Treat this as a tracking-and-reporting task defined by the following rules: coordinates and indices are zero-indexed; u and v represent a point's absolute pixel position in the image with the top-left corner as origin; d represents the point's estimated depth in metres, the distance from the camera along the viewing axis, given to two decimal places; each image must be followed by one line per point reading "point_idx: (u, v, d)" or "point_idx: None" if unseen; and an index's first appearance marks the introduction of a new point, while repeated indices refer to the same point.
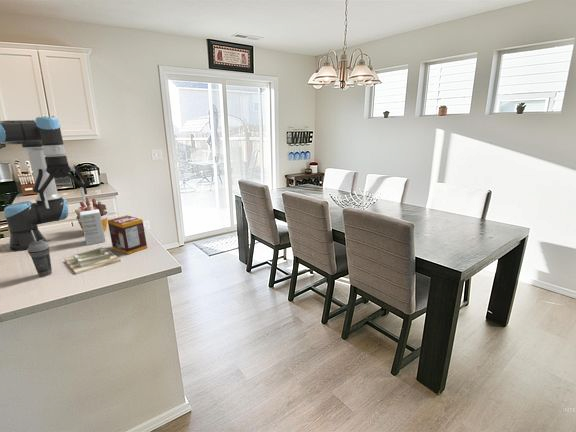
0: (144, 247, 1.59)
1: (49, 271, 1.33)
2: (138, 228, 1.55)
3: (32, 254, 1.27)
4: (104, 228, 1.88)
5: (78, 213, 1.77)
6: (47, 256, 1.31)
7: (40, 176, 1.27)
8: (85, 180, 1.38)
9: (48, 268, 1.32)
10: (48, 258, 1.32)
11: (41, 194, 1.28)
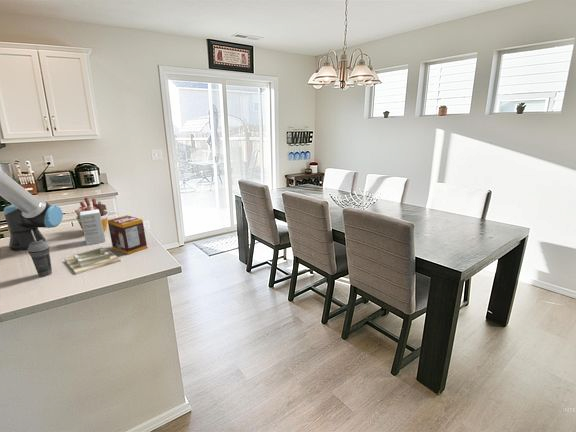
0: (144, 247, 1.59)
1: (49, 271, 1.33)
2: (138, 228, 1.55)
3: (32, 254, 1.27)
4: (104, 228, 1.88)
5: (78, 213, 1.77)
6: (47, 256, 1.31)
7: None
8: None
9: (48, 268, 1.32)
10: (48, 258, 1.32)
11: None
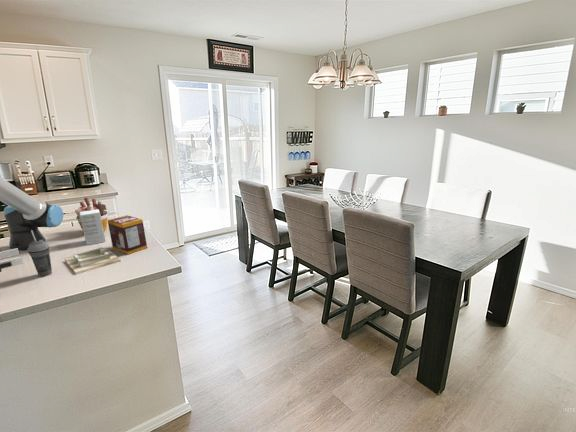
0: (144, 247, 1.59)
1: (49, 271, 1.33)
2: (138, 228, 1.55)
3: (32, 254, 1.27)
4: (104, 228, 1.88)
5: (78, 213, 1.77)
6: (47, 256, 1.31)
7: None
8: None
9: (48, 268, 1.32)
10: (48, 258, 1.32)
11: None
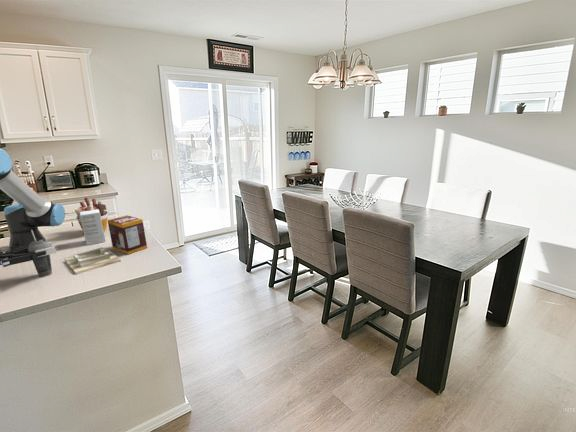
0: (144, 247, 1.59)
1: (49, 271, 1.33)
2: (138, 228, 1.55)
3: None
4: (104, 228, 1.88)
5: (78, 213, 1.77)
6: (47, 256, 1.31)
7: None
8: None
9: (48, 268, 1.32)
10: (48, 258, 1.32)
11: None
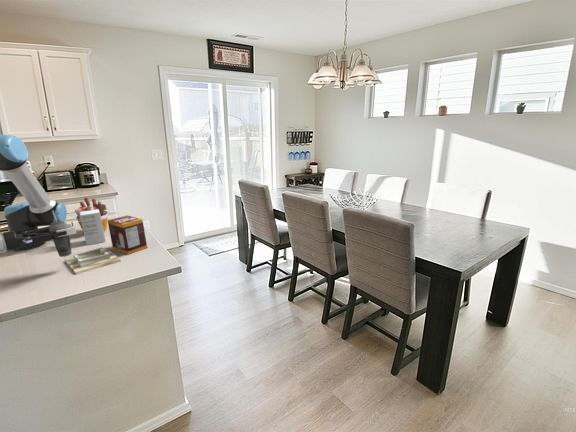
0: (144, 247, 1.59)
1: (69, 251, 1.35)
2: (138, 228, 1.55)
3: None
4: (104, 228, 1.88)
5: (78, 213, 1.77)
6: (67, 236, 1.34)
7: None
8: None
9: (68, 248, 1.35)
10: (68, 238, 1.34)
11: None
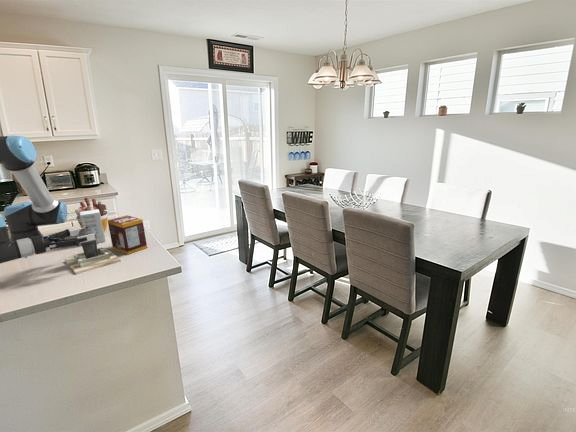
0: (144, 247, 1.59)
1: (96, 256, 1.45)
2: (138, 228, 1.55)
3: None
4: (104, 228, 1.88)
5: (78, 213, 1.77)
6: (95, 242, 1.43)
7: None
8: None
9: (95, 253, 1.44)
10: (95, 244, 1.44)
11: None
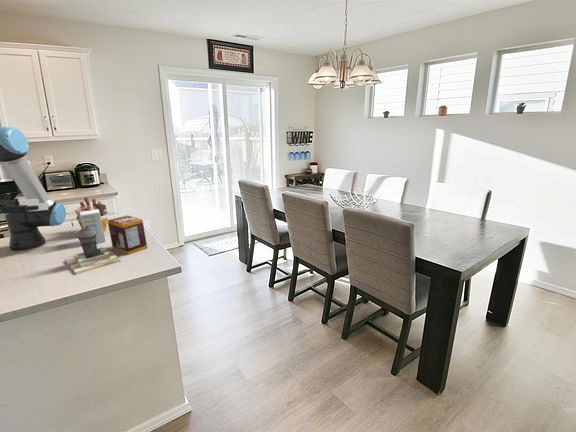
0: (144, 247, 1.59)
1: (96, 256, 1.45)
2: (138, 228, 1.55)
3: (82, 240, 1.39)
4: (104, 228, 1.88)
5: (78, 213, 1.77)
6: (94, 242, 1.43)
7: None
8: None
9: (95, 253, 1.44)
10: (95, 244, 1.44)
11: (20, 204, 1.31)
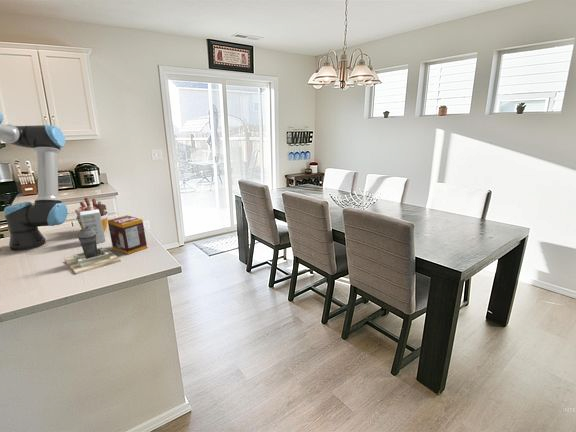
0: (144, 247, 1.59)
1: (96, 256, 1.45)
2: (138, 228, 1.55)
3: (82, 240, 1.39)
4: (104, 228, 1.88)
5: (78, 213, 1.77)
6: (94, 242, 1.43)
7: None
8: None
9: (95, 253, 1.44)
10: (95, 244, 1.44)
11: None
